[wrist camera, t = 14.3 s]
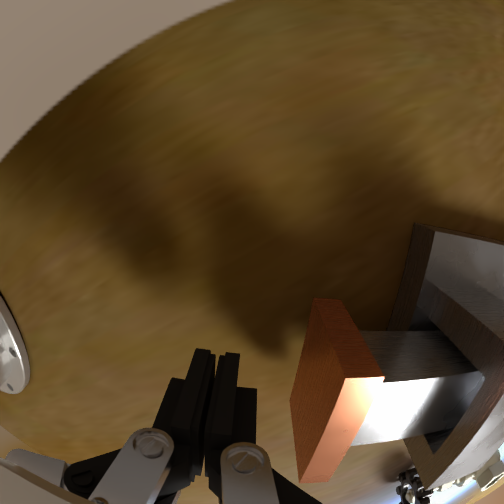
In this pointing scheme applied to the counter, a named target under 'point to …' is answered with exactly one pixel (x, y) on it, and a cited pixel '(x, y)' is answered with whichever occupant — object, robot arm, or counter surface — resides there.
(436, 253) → the press bed
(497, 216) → the counter surface
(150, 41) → the counter surface
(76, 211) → the counter surface
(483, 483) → the valve
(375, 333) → the ram
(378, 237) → the counter surface
